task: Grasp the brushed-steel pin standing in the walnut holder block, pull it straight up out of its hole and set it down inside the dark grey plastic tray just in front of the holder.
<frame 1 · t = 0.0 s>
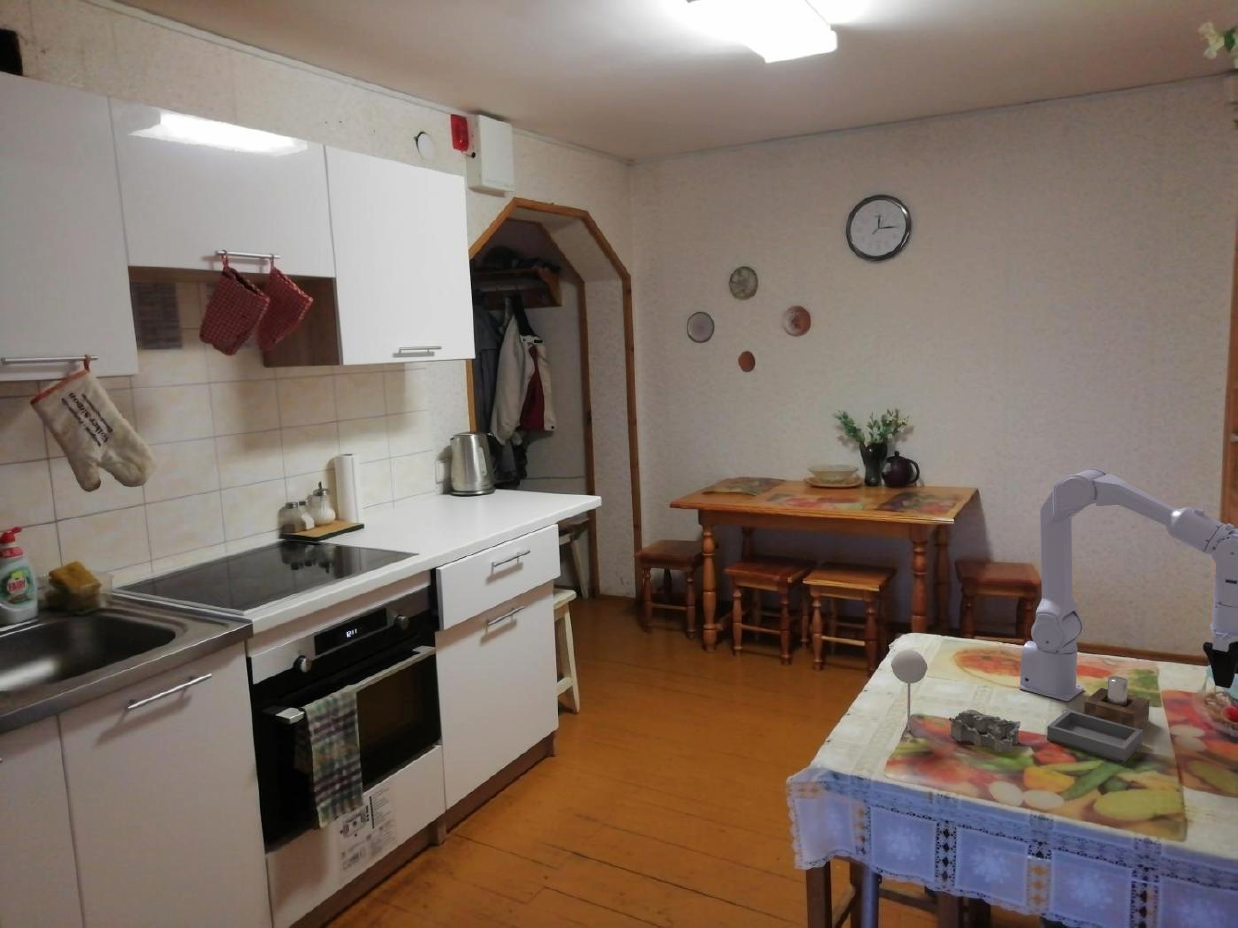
hand: (1229, 679, 145), 10 cm above the table, tool pointing down, fingers open, 7 cm apart
pin: (1117, 700, 153), in the holder
tray: (1094, 741, 147), on the table
lollipop: (908, 731, 154), on the table
egg carton: (984, 740, 150), on the table
holder: (1116, 721, 153), on the table
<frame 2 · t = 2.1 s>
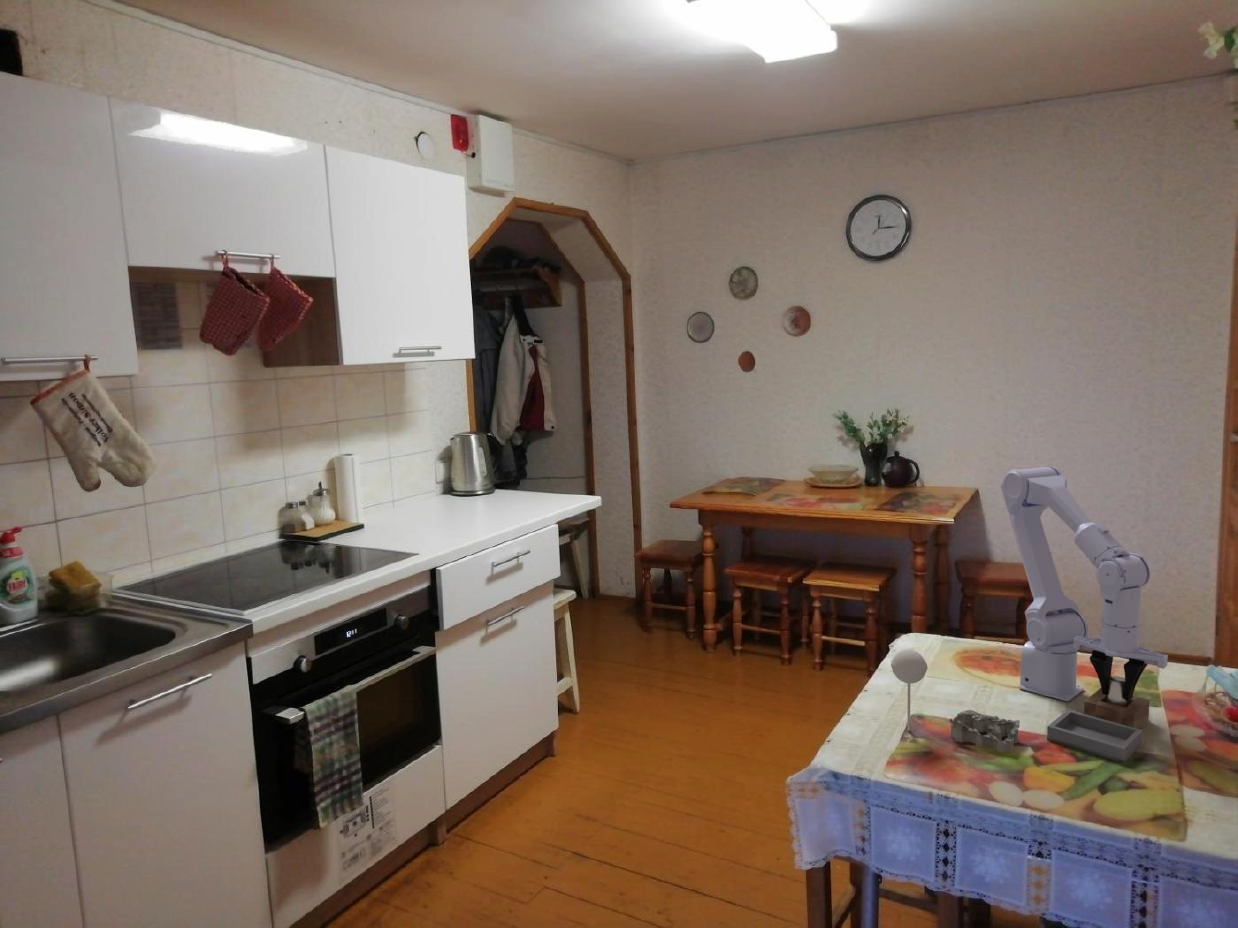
hand: (1117, 695, 153), 5 cm above the table, tool pointing down, fingers closed on pin, 3 cm apart
pin: (1117, 700, 153), in the holder, touching gripper
everything else where it was.
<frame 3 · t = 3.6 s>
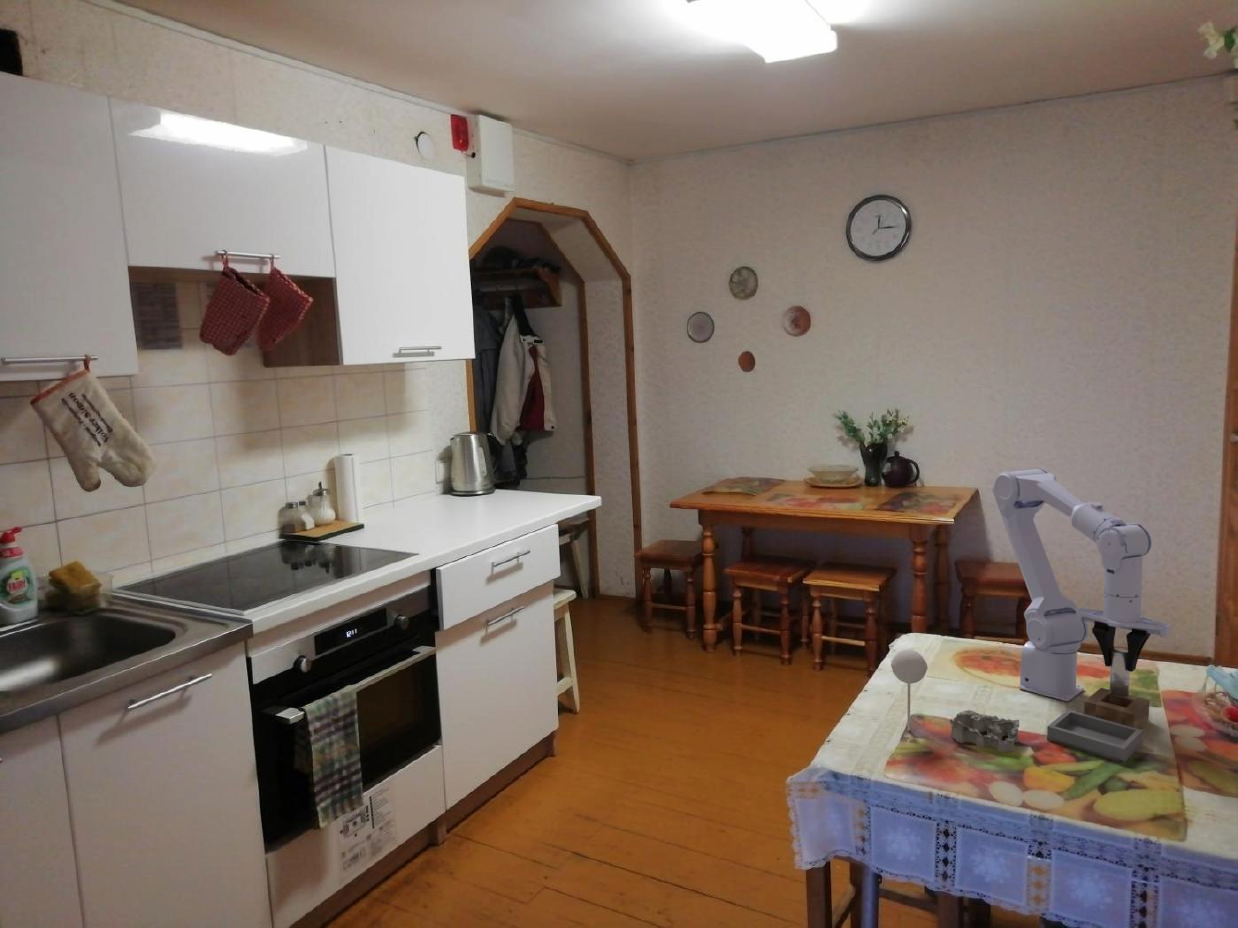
hand: (1120, 667, 152), 10 cm above the table, tool pointing down, fingers closed on pin, 3 cm apart
pin: (1120, 672, 152), point 10 cm above the table, touching gripper
everything else where it was.
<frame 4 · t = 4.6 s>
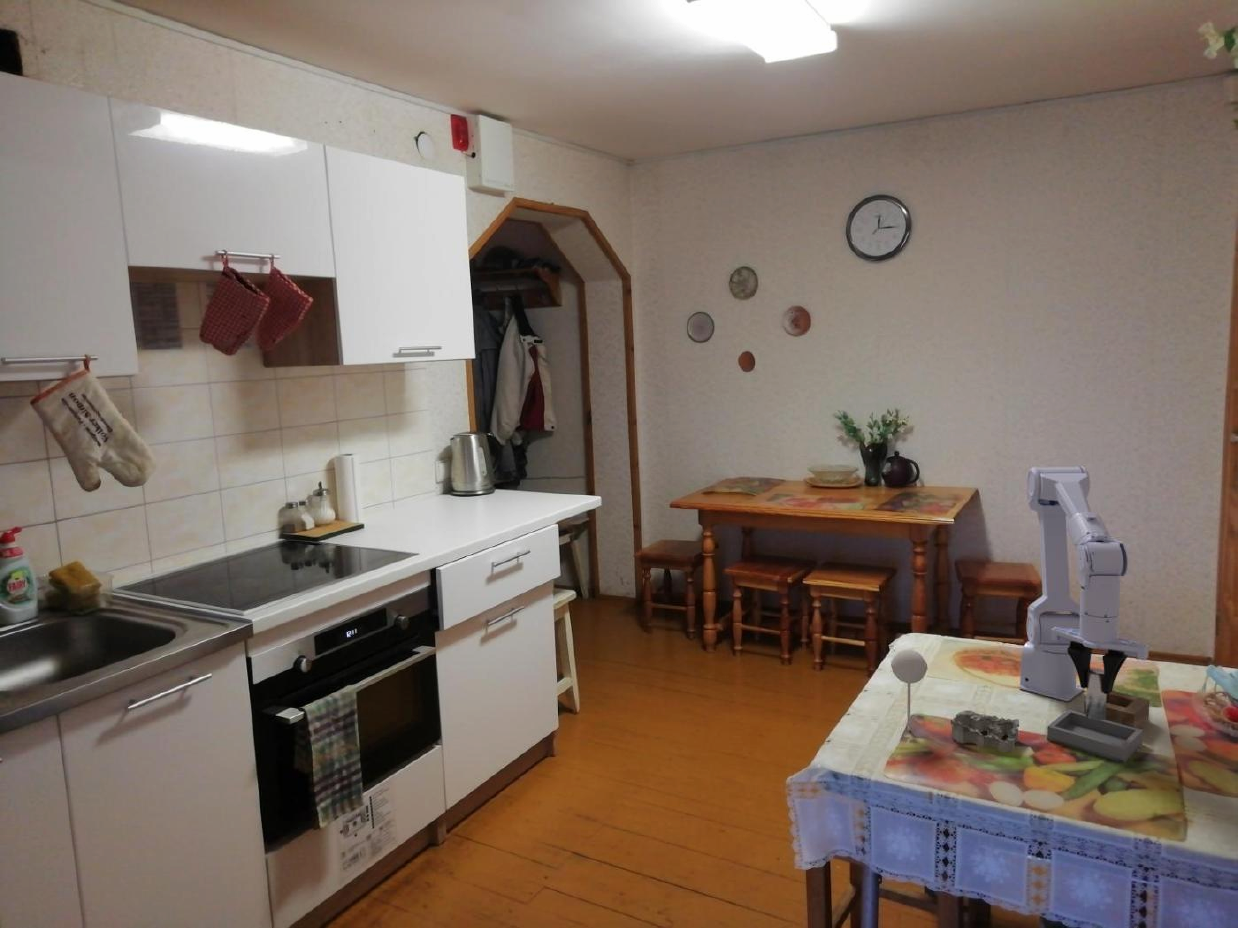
hand: (1096, 689, 145), 10 cm above the table, tool pointing down, fingers closed on pin, 3 cm apart
pin: (1096, 694, 145), point 9 cm above the table, touching gripper
everything else where it was.
when the fingers open (7 cm above the table, at t = 5.3 s): pin drops 1 cm, resting on tray.
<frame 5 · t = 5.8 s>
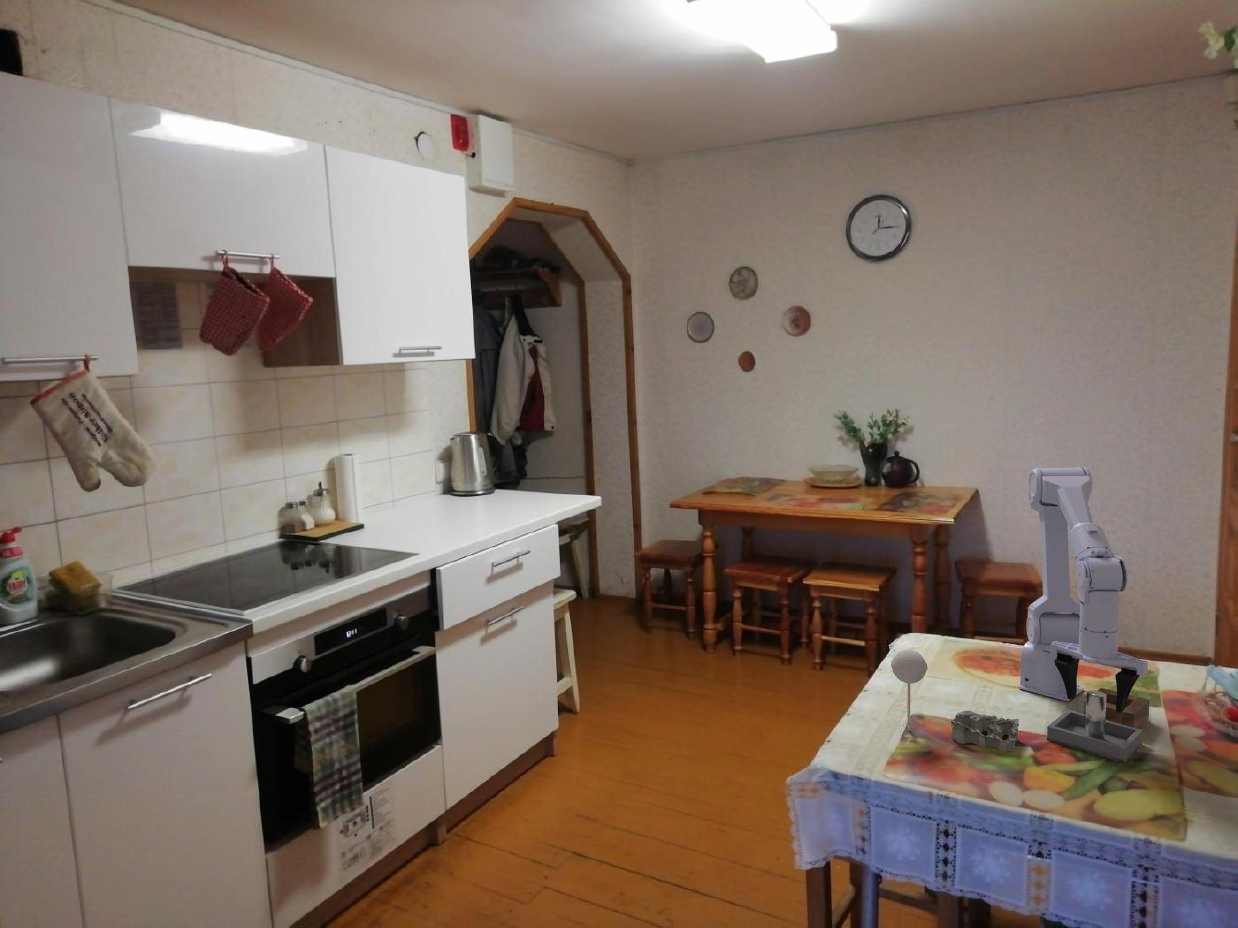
hand: (1095, 703, 145), 7 cm above the table, tool pointing down, fingers open, 7 cm apart
pin: (1095, 716, 146), in the tray
everything else where it was.
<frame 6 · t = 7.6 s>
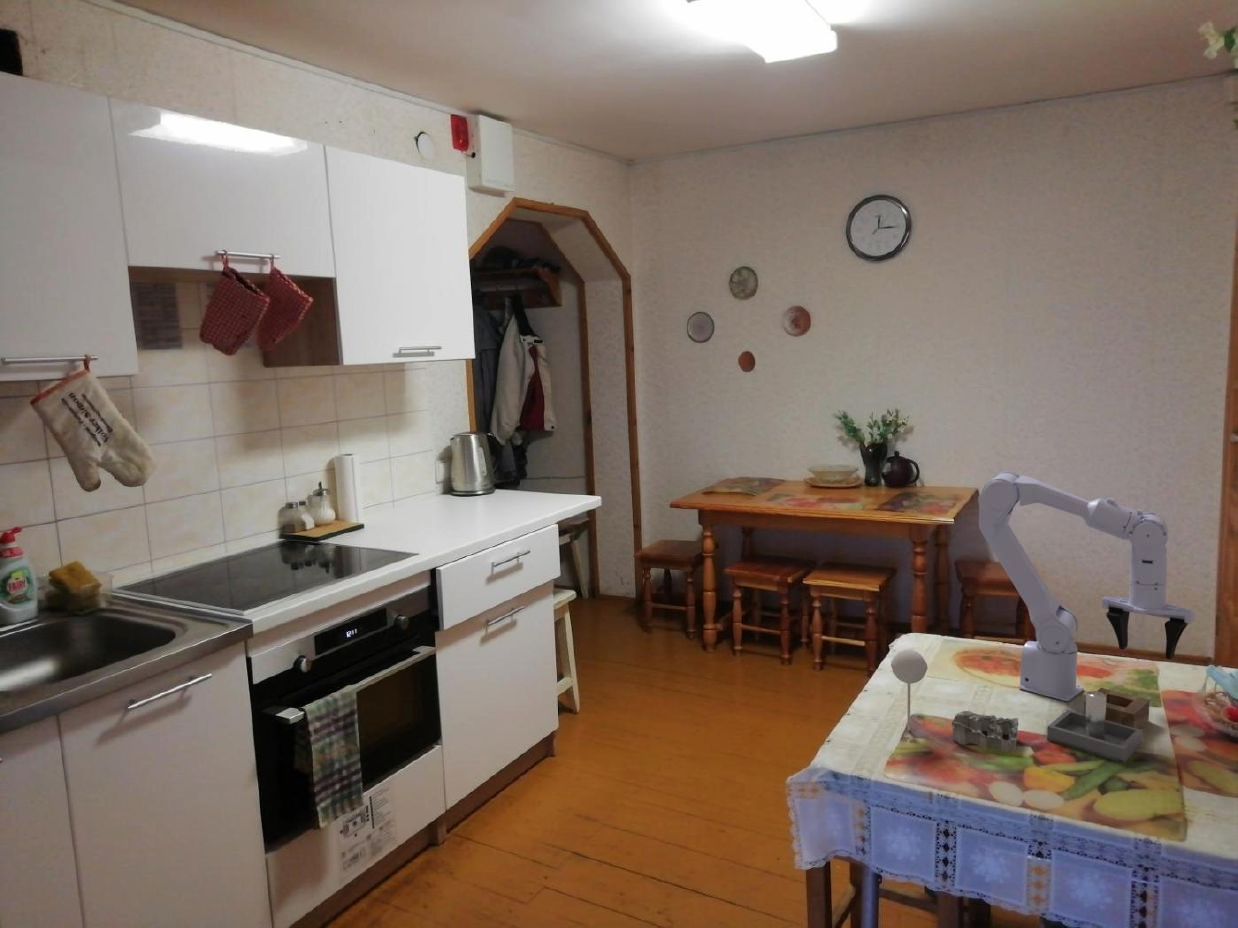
hand: (1146, 652, 157), 10 cm above the table, tool pointing down, fingers open, 7 cm apart
nothing on the table moved.
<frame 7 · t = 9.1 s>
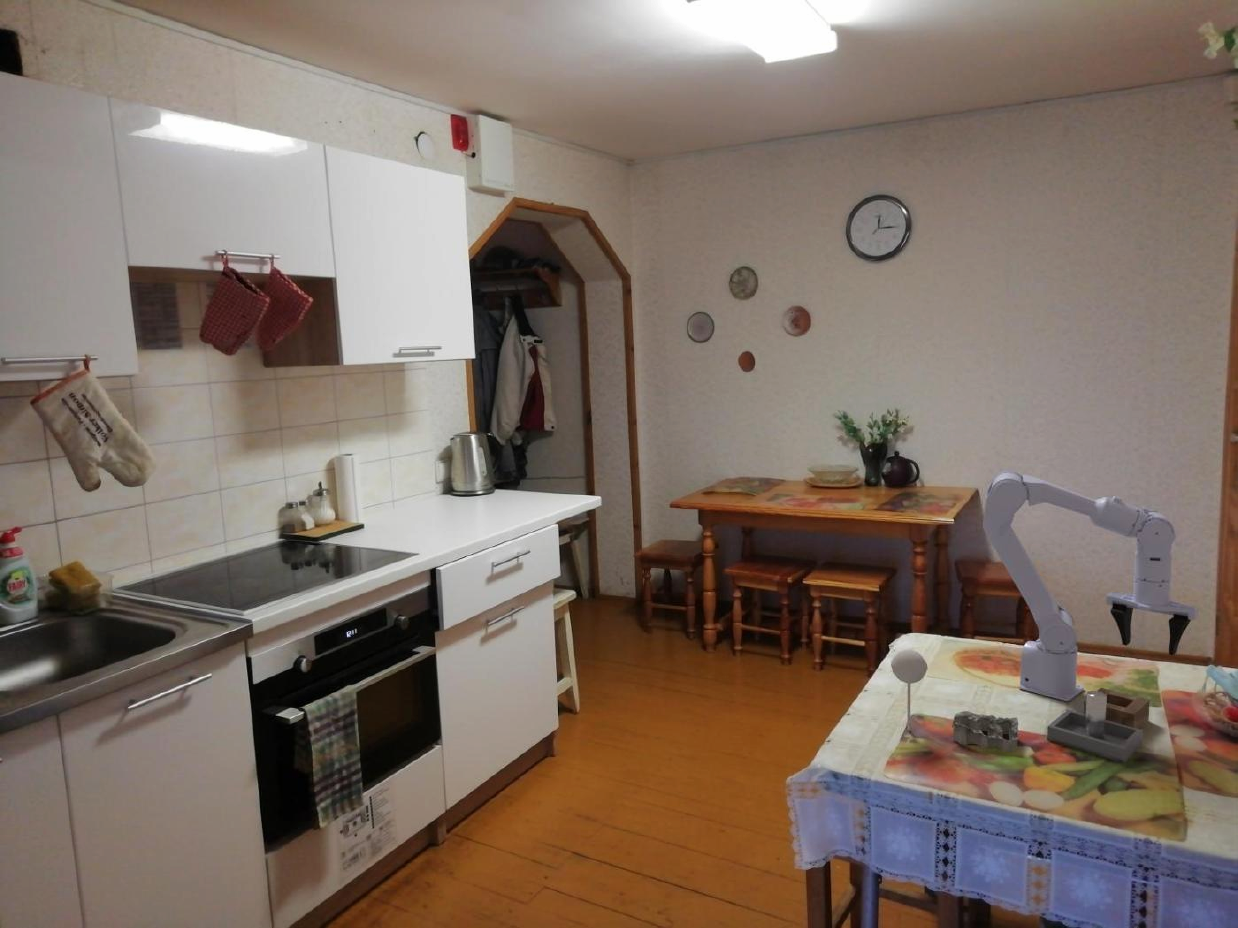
hand: (1149, 648, 159), 10 cm above the table, tool pointing down, fingers open, 7 cm apart
at the end: pin inside the target area on the tray (0.2 cm from its centre), point 4.5 cm above the tray's base; pin touching tray; the gripper is holding nothing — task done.
